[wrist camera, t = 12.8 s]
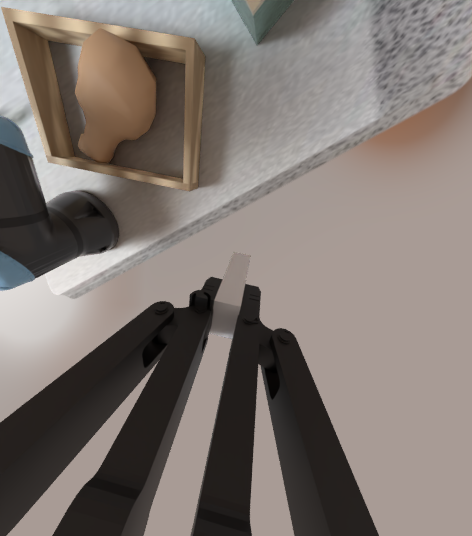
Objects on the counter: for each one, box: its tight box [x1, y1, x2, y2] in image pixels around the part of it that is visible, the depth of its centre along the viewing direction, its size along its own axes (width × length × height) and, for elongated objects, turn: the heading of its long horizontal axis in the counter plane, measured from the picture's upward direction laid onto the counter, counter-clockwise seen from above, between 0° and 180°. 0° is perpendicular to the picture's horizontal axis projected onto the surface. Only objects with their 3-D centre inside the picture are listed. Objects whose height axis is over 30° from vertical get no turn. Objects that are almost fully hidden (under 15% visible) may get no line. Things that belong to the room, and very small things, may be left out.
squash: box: [75, 28, 156, 163], centre depth 32 cm, size 11×20×9 cm, turn 133°
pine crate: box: [1, 7, 205, 191], centre depth 33 cm, size 28×19×5 cm
